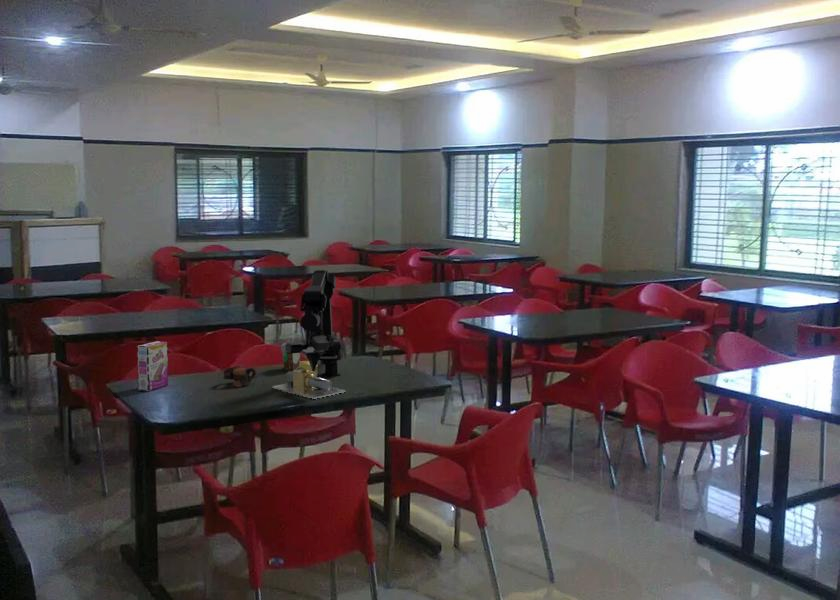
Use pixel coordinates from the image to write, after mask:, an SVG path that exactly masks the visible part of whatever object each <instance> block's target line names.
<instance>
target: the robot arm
mask: <svg viewBox="0 0 840 600" xmlns="http://www.w3.org/2000/svg"><path fill="white" fill-rule="evenodd" d="M336 288H337V279H336V276H335V275H334V274H332V273H331V272H329V270H324V269H321V270H320V269H319V270H318V269H316V270H313V274H312V276H311V283H310V286H309V287H306V288H305V290H304V291H303V293H302V294H301V301H300V312H304V315H303V316H302V317H301V318H300V321H299V322H300V325H301V327H302V329H303V332H305V335H304V336H305V339H304V341H303V344H301V343H300V344H299V343H297V342H298V341H293V342H294V343H289V342H286V343H287V344H286V351H287V352H289V353H300V354H301V353H303V354H305V356H306V358H307V361H309V363H310V365H311V368H312V371H315V368H316V365H318V363H319V364H325V373H323V374H319V373H317V376H320V377H324V378H332V377H336V375H337V376H340V375H341V373H340V372H338V370H339V369H338V361H340V360H341V361H342V351H341V350H342V343H341V341H339V340H338V339H337V337H336V335H335V334H334V333H333V332H334V331H333V316H332V314H333V313H332V297H333V295H334V292H335V290H336ZM319 361H320V362H319ZM331 376H332V377H331Z"/></svg>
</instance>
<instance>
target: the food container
mask: <svg viewBox="0 0 840 600" xmlns="http://www.w3.org/2000/svg"><path fill="white" fill-rule="evenodd" d="M294 342H295V341H289V342H285V343H282V345H281V346H280V347H281V348H280V351H281V352H282V360H283V369H284V371H287V372H289V371H292V372H293V371H296V370H298V369H300V366H299V362H300V361H301V352H300V353H289V352H287V351H286V344H287V343H294ZM296 342H297V343H299V344H301V341H296ZM297 368H298V369H297Z"/></svg>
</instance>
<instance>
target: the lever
mask: <svg viewBox="0 0 840 600" xmlns="http://www.w3.org/2000/svg"><path fill="white" fill-rule="evenodd" d="M299 366H300V367H299V369H301V368H303V369H307V370H310V371H312V368H311V365H310V363H309V360H300V362H299ZM313 372H316V373H317V374H323V373H325V364H320V363H319V364H318V363H317V365H316V368H315V371H313Z"/></svg>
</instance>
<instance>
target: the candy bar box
mask: <svg viewBox="0 0 840 600" xmlns="http://www.w3.org/2000/svg"><path fill="white" fill-rule="evenodd" d="M136 348H137V350H136V351H137V379H138V380H137V381H138V391H142V392H148V391H149V392H151V391H155V390H158V389H161V388H164V387H166V385H167V386H168V385H169V369H168V368H169V367H168V365H169V364H168V362H169V361H168V360H169V359H168V342H167V341H152V342H149V343H144V344H140V345H137V347H136ZM163 386H164V387H163ZM160 387H161V388H160ZM157 388H158V389H157ZM154 389H155V390H154Z"/></svg>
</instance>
